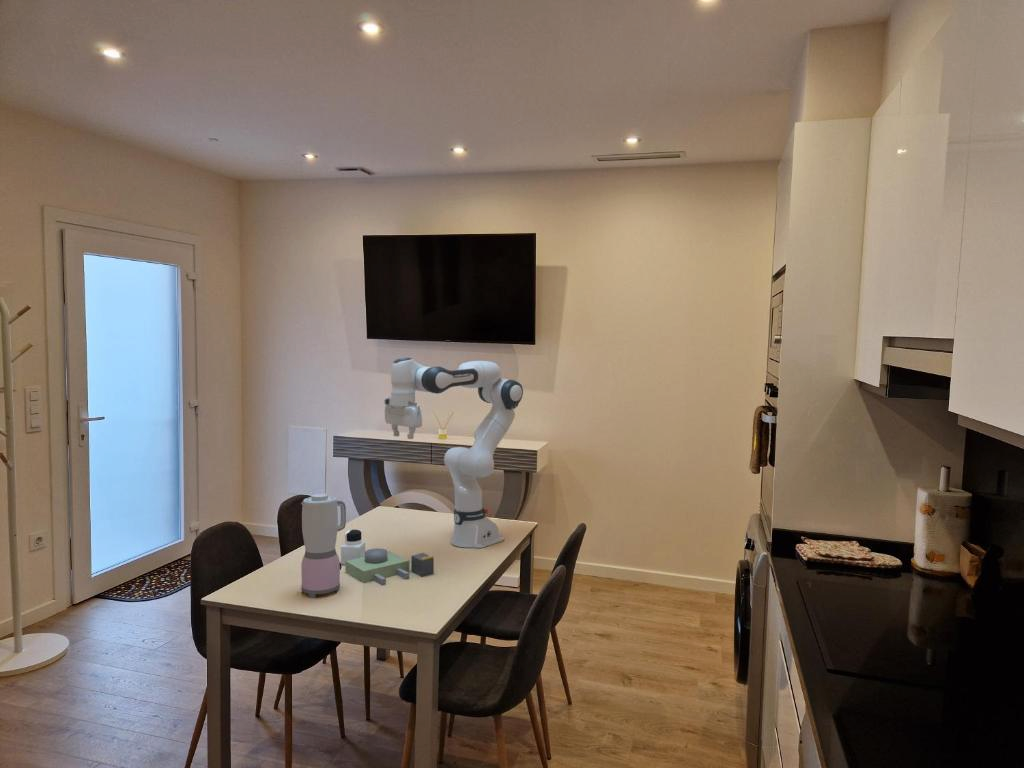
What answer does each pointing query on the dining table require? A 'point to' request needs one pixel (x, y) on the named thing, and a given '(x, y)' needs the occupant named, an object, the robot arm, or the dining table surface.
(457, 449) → the robot arm
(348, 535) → the medicine bottle
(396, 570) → the green piece
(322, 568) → the blender
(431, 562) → the grey block yellow strip
